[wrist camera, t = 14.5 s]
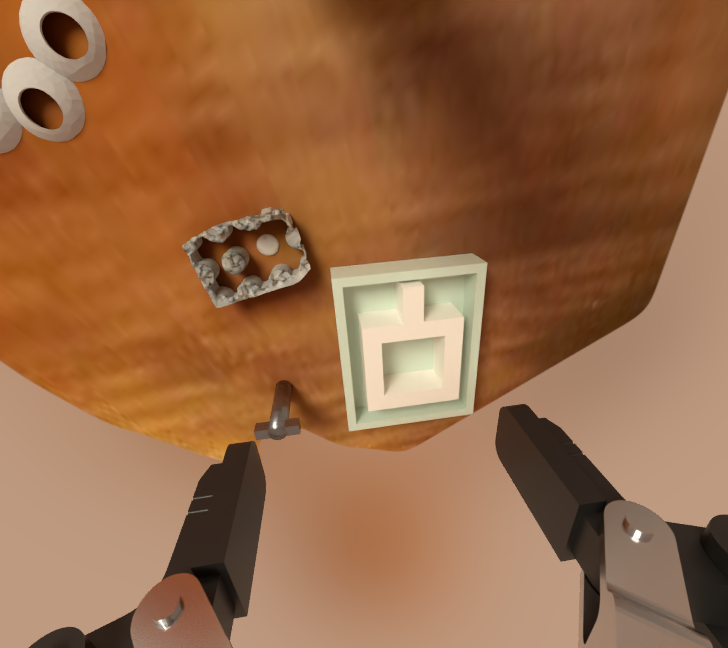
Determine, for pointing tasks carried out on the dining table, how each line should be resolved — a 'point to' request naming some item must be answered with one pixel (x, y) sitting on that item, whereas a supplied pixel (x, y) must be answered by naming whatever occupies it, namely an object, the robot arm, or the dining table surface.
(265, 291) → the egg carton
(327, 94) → the dining table surface
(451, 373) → the cream rectangular frame
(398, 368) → the tray
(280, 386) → the T-head stake
